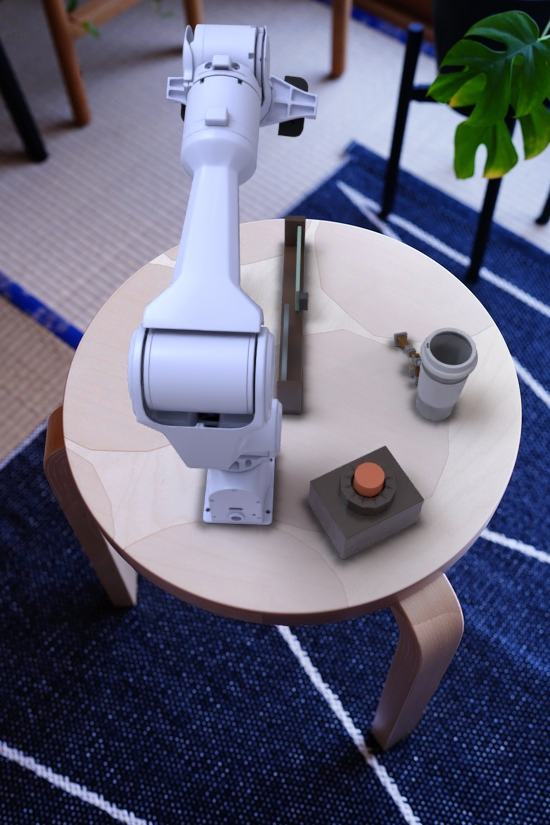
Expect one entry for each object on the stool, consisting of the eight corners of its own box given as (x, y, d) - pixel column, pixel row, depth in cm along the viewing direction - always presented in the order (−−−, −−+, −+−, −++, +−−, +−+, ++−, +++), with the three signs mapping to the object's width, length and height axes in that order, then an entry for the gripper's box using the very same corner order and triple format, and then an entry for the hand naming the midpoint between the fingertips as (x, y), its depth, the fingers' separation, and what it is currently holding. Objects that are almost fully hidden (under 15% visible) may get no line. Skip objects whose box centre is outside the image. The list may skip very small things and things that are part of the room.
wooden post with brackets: (413, 390, 99) (414, 359, 97) (393, 361, 106) (393, 332, 104) (427, 388, 100) (427, 357, 97) (406, 359, 106) (406, 330, 104)
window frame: (300, 415, 99) (301, 387, 94) (276, 414, 99) (276, 387, 94) (304, 246, 115) (305, 215, 110) (284, 246, 115) (284, 215, 110)
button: (363, 501, 84) (364, 492, 82) (347, 478, 85) (349, 469, 84) (388, 489, 85) (390, 480, 83) (372, 467, 86) (374, 457, 84)
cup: (408, 381, 101) (422, 321, 91) (459, 385, 101) (479, 325, 91) (407, 427, 97) (421, 369, 88) (460, 431, 97) (481, 374, 87)
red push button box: (342, 560, 88) (347, 531, 81) (308, 504, 92) (310, 472, 85) (417, 522, 90) (427, 492, 84) (380, 469, 94) (387, 436, 88)
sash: (307, 316, 106) (308, 296, 103) (295, 315, 106) (295, 295, 103) (308, 246, 113) (309, 226, 110) (297, 246, 113) (297, 225, 110)
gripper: (323, 49, 69) (321, 80, 82) (162, 30, 69) (185, 64, 82) (313, 132, 71) (312, 150, 84) (155, 113, 71) (179, 134, 84)
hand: (249, 112), depth 83 cm, fingers open, 7 cm apart
